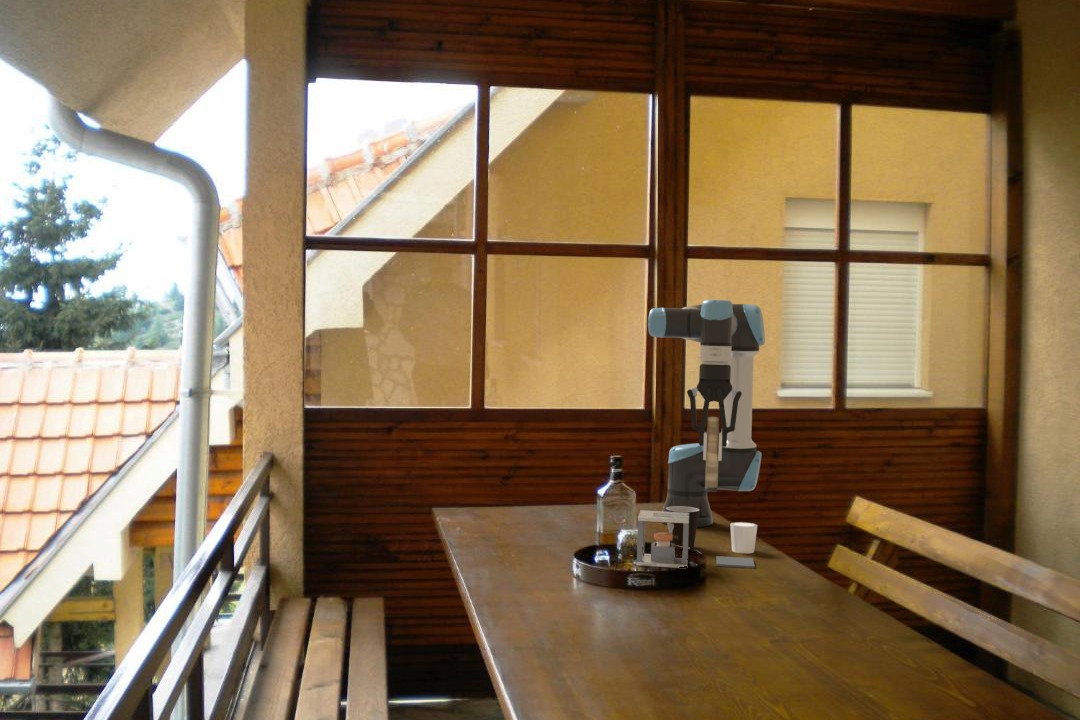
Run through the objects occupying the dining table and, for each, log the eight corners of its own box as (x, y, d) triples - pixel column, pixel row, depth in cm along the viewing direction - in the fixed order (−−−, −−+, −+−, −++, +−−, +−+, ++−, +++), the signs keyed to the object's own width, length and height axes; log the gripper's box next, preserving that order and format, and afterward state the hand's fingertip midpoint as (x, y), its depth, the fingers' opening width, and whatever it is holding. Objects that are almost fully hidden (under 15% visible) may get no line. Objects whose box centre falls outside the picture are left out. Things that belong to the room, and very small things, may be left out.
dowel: (705, 489, 254) (707, 416, 254) (717, 490, 254) (719, 417, 253) (704, 491, 251) (707, 417, 251) (717, 492, 251) (719, 418, 250)
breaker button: (654, 555, 255) (654, 532, 255) (672, 556, 254) (672, 533, 254) (653, 558, 250) (653, 535, 250) (671, 560, 250) (672, 536, 250)
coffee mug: (700, 551, 266) (701, 512, 266) (666, 550, 267) (667, 511, 266) (694, 541, 278) (695, 504, 278) (662, 540, 278) (663, 503, 278)
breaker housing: (639, 556, 258) (640, 510, 258) (687, 559, 256) (689, 512, 256) (636, 565, 248) (638, 517, 248) (687, 568, 246) (688, 520, 246)
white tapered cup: (749, 555, 263) (750, 527, 263) (724, 551, 267) (725, 524, 267) (761, 551, 269) (761, 524, 268) (736, 547, 273) (737, 520, 273)
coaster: (716, 558, 259) (716, 556, 259) (752, 560, 257) (752, 558, 257) (716, 566, 250) (716, 564, 250) (754, 568, 248) (754, 566, 248)
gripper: (681, 362, 249) (678, 460, 250) (749, 365, 246) (745, 463, 247) (682, 362, 257) (680, 456, 257) (748, 364, 254) (745, 459, 255)
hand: (712, 459), depth 252 cm, fingers closed on dowel, 3 cm apart
